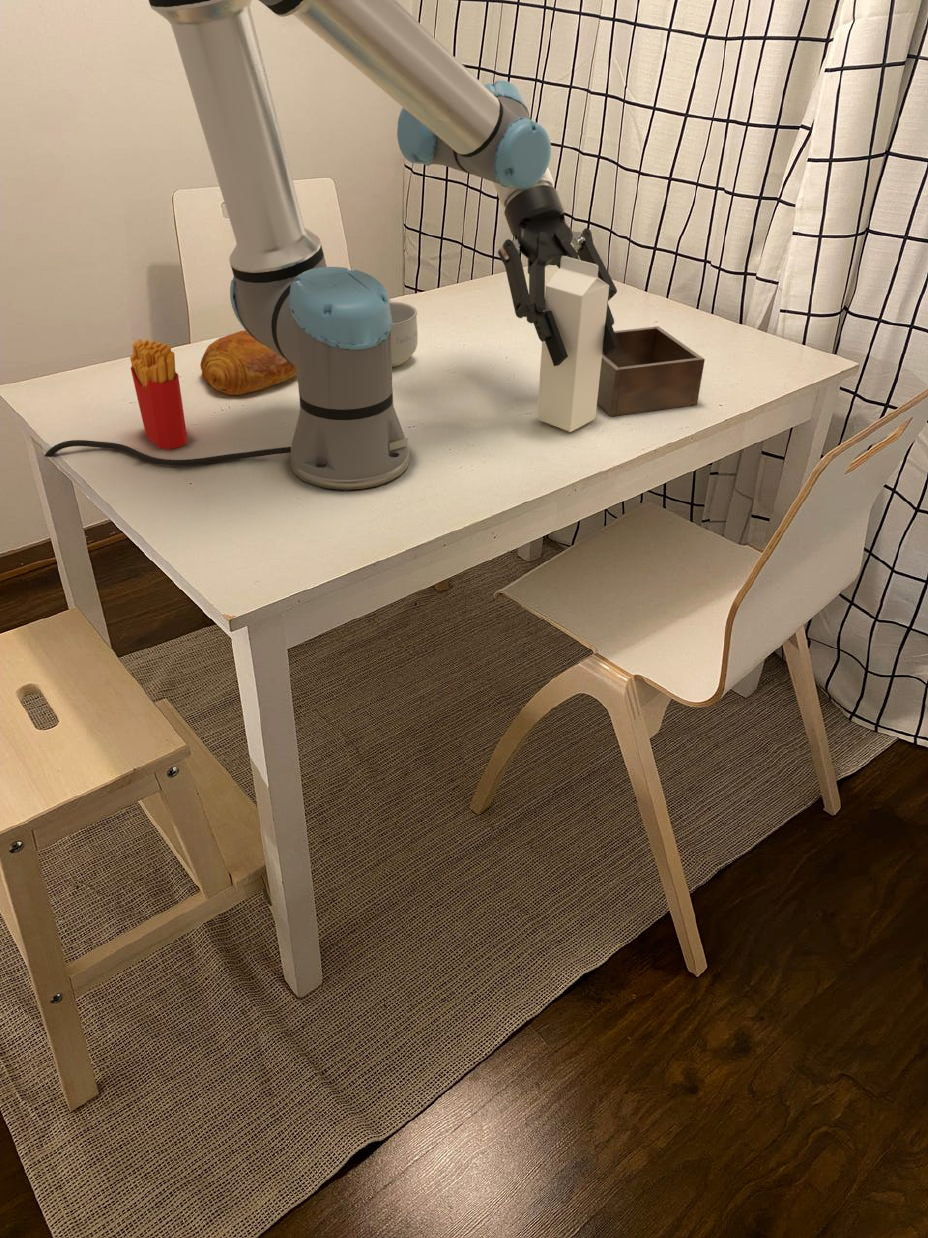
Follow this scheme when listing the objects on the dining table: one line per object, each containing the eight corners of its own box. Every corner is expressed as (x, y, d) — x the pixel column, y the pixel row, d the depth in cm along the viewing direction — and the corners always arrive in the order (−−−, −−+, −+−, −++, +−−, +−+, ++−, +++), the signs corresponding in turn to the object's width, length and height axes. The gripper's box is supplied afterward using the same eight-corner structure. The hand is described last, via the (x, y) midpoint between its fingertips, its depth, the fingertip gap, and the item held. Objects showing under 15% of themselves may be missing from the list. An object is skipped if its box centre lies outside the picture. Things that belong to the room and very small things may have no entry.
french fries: (138, 431, 132) (119, 338, 124) (167, 423, 134) (151, 331, 127) (167, 455, 126) (149, 360, 119) (197, 446, 129) (181, 352, 121)
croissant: (318, 390, 149) (321, 339, 145) (232, 405, 139) (232, 351, 135) (263, 362, 157) (265, 312, 153) (178, 374, 147) (177, 321, 143)
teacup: (408, 376, 149) (407, 325, 144) (341, 370, 150) (338, 319, 146) (429, 344, 160) (428, 296, 155) (366, 339, 161) (364, 291, 157)
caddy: (610, 416, 138) (616, 369, 134) (570, 379, 149) (574, 335, 145) (697, 404, 142) (704, 358, 138) (652, 369, 153) (658, 325, 148)
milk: (570, 432, 133) (584, 270, 120) (536, 419, 136) (546, 260, 123) (596, 418, 136) (612, 260, 123) (562, 406, 140) (574, 250, 126)
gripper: (579, 206, 137) (634, 355, 135) (452, 223, 129) (509, 381, 127) (604, 174, 130) (663, 330, 128) (472, 190, 122) (533, 356, 120)
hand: (586, 355), depth 127 cm, fingers closed on milk, 7 cm apart
